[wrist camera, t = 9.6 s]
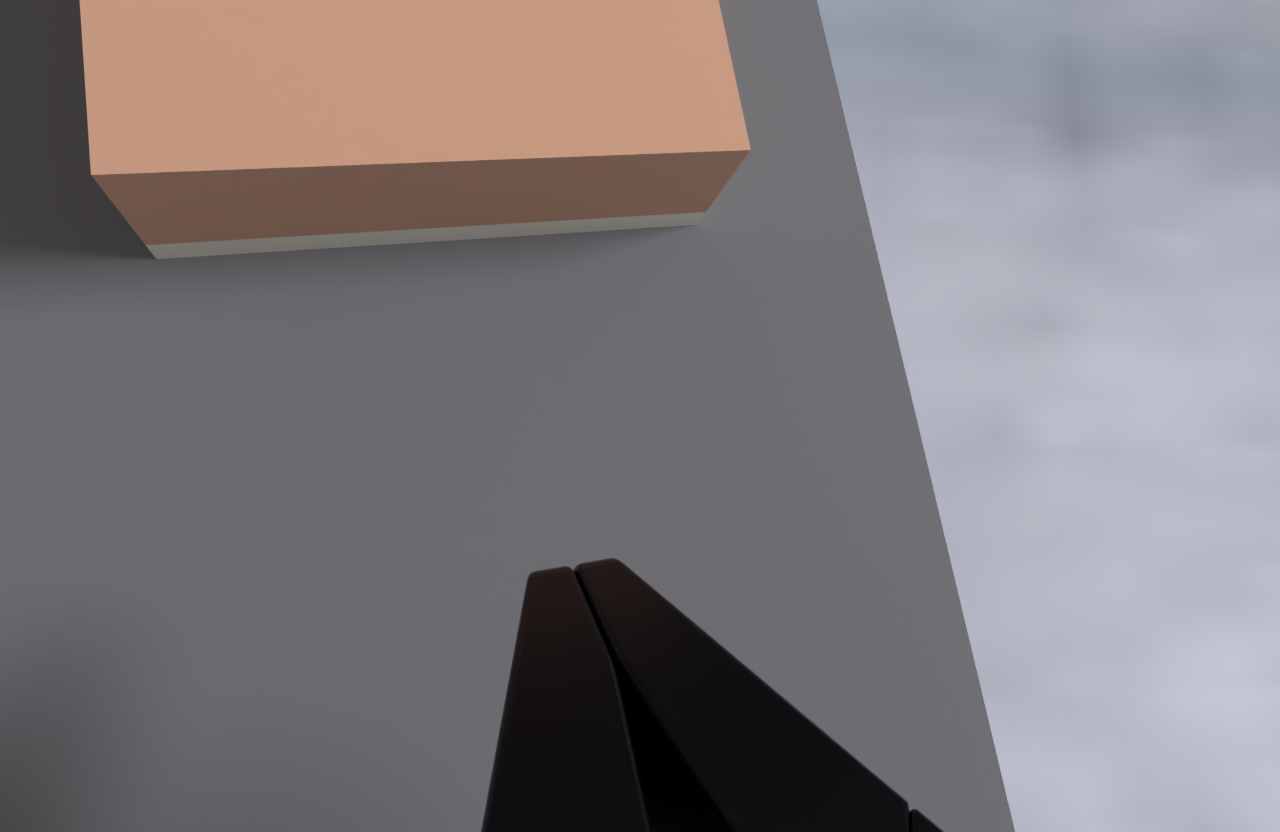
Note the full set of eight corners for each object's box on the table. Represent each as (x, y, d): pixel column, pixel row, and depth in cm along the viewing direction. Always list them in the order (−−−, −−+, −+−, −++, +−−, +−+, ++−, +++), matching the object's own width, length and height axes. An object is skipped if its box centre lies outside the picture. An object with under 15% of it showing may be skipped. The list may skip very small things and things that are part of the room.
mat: (1003, 860, 17) (1024, 870, 16) (-80, 1209, 12) (-106, 1240, 11) (769, -134, 20) (779, -155, 20) (-111, -190, 16) (-131, -221, 15)
